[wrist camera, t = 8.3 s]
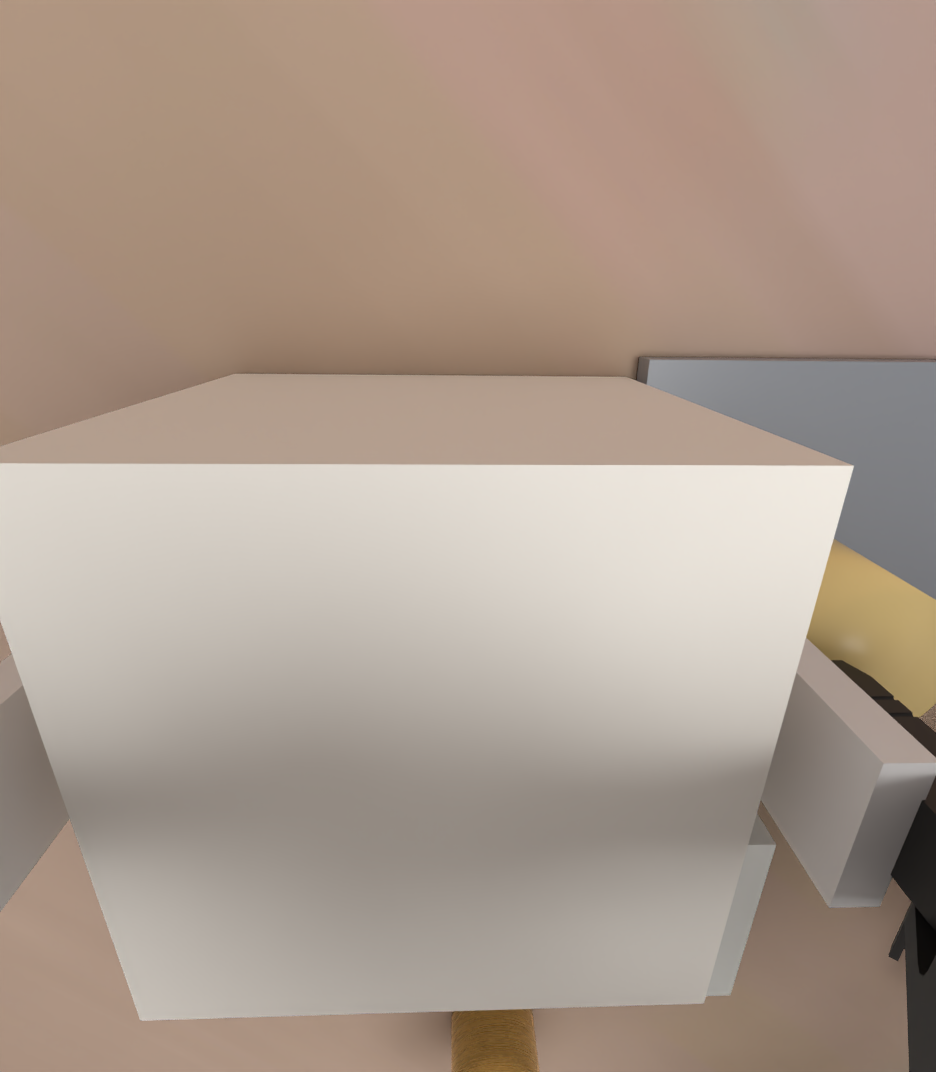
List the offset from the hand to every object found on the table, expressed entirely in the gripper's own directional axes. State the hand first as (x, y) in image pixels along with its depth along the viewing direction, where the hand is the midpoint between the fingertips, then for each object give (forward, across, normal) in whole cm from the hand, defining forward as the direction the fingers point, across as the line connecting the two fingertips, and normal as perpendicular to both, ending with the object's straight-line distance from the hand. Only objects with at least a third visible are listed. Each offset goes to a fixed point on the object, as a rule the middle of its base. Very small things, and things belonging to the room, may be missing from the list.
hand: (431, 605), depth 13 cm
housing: (+3, 0, 0) cm, 3 cm away
